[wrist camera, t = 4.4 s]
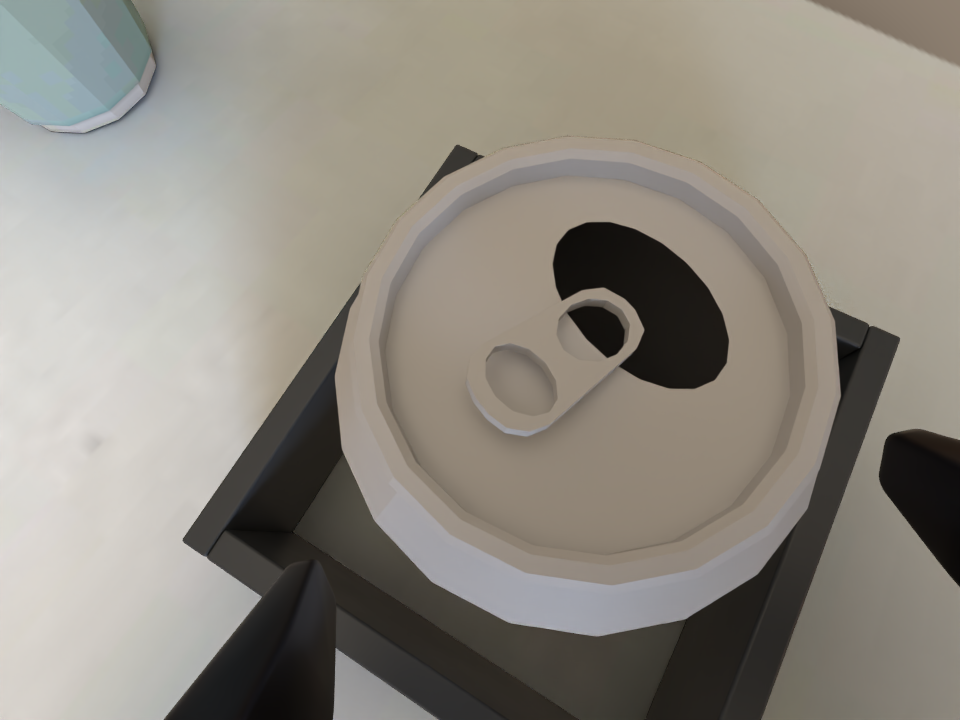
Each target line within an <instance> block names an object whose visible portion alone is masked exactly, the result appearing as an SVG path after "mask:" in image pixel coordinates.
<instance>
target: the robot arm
mask: <svg viewBox="0 0 960 720" xmlns="http://www.w3.org/2000/svg"><path fill="white" fill-rule="evenodd" d="M879 480H880V483H881V486H882V488H883V490H884V491H885V493H886V494H887V496H888V497H889V498H890V499H891V501H892V502H893V503H894V505H895V506H896V507H897V508H898V510H899V511H900V512H901V514H902V515H903V516H904V518H905V519H906V520H907V521H908V523H909V524H910V525H911V527H912V528H913V529H914V530H915V532H916V533H917V534H918V536H919V537H920V538H921V540H922V541H923V542H924V543H925V545H926V546H927V547H928V549H929V550H930V551H931V553H932V554H933V555H934V556H935V558H936V559H937V560H938V562H939V563H940V564H941V565H942V567H943V568H944V569H945V570H946V571H947V573H948V574H949V575H950V576H951V578H952V579H953V580H954V581H955V582H956V583H957V584H958V585H959V587H960V440H957V439H953V438H950V437H946V436H943V435H939V434H936V433H933V432H929V431H926V430H922V429H910V430H906V431H901V432H897V433H893V434H891V435H889V436H888V437H887V439H886V441H885V445H884V450H883V455H882V461H881V466H880V471H879ZM335 647H336V600H335V596H334V593H333V590H332V588H331V586H330V584H329V581H328V579H327V577H326V574H325V572H324V570H323V568H322V565H321V563H320V562H319V561H318V560H317V559H308V560H303V561H298V562H294V563H291V564H290V565H289V566H287V567H286V569H285V570H284V571H283V572H282V574H281V575H280V576H279V577H278V578H277V580H276V581H275V582H274V583H273V585H272V586H271V587H270V588H269V590H268V591H267V592H266V593H265V595H264V596H263V597H262V598H261V600H260V601H259V602H258V603H257V605H256V606H255V607H254V608H253V609H252V611H251V612H250V613H249V614H248V616H247V617H246V618H245V619H244V621H243V622H242V623H241V624H240V626H239V627H238V628H237V629H236V631H235V632H234V633H233V634H232V635H231V637H230V638H229V639H228V640H227V642H226V643H225V644H224V645H223V647H222V648H221V649H220V650H219V652H218V653H217V654H216V655H215V657H214V658H213V659H212V660H211V662H210V663H209V664H208V665H207V666H206V668H205V669H204V670H203V671H202V673H201V674H200V675H199V676H198V678H197V679H196V680H195V681H194V683H193V684H192V685H191V686H190V688H189V689H188V690H187V691H186V692H185V694H184V695H183V696H182V697H181V699H180V700H179V701H178V702H177V704H176V705H175V706H174V707H173V709H172V710H171V711H170V712H169V714H168V715H167V716H166V717H165V718H164V720H333V712H334V687H335Z"/></svg>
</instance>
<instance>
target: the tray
mask: <svg viewBox="0 0 960 720" xmlns="http://www.w3.org/2000/svg"><path fill="white" fill-rule="evenodd" d="M483 157H484V156H482V155H478V154H477V153H476V152H473V151H471V150H469V149H467V148H464V147H462V146H460V145H456V146H455V147H454V149H453V150H452V152H451V153H450V155H449V156H448V158H447V159H446V160H445V162H444V163H443V165H442V166H441V168H440V169H439V171H438V172H437V173H436V175H435V176H434V178H433V179H432V181H431V182H430V183H429V185H428V186H427V188H426V189H425V191H424V192H423V194H422V195H421V196H420V198H421V197H422V196H423V195H424V194H425V193H427V192H428V191H429V190H430V189H431V188H432V187H433V186H434V185H435V184H437V183H438V182H439V181H440V180H441V179H442V178H443V177H444V176H446V175H448V174H451V173H453V172H455V171H457V170H459V169H461V168H463V167H465V166H467V165H469V164H471V163H473V162H475V161H477V160H479V159H481V158H483ZM420 198H419V199H420ZM419 199H418V200H419ZM360 285H361V283H360V284H359V286H358V287H357V289H356V290H355V292H354V293H353V294H352V296H351V297H350V299H349V300H348V302H347V303H346V305H345V306H344V307H343V309H342V310H341V312H340V313H339V315H338V316H337V318H336V319H335V320H334V322H333V323H332V325H331V326H330V328H329V329H328V330H327V332H326V333H325V335H324V336H323V338H322V339H321V341H320V342H319V343H318V345H317V346H316V348H315V349H314V351H313V352H312V354H311V355H310V356H309V358H308V359H307V361H306V362H305V364H304V365H303V367H302V368H301V369H300V371H299V372H298V374H297V375H296V377H295V378H294V379H293V381H292V382H291V384H290V385H289V387H288V388H287V390H286V391H285V392H284V394H283V395H282V397H281V398H280V400H279V401H278V403H277V404H276V405H275V407H274V408H273V410H272V411H271V413H270V414H269V416H268V417H267V418H266V420H265V421H264V423H263V424H262V426H261V427H260V428H259V430H258V431H257V433H256V434H255V436H254V437H253V439H252V440H251V441H250V443H249V444H248V446H247V447H246V449H245V450H244V452H243V453H242V454H241V456H240V457H239V459H238V460H237V462H236V463H235V465H234V466H233V467H232V469H231V470H230V472H229V473H228V475H227V476H226V477H225V479H224V480H223V482H222V483H221V485H220V486H219V488H218V489H217V490H216V492H215V493H214V495H213V496H212V498H211V499H210V501H209V502H208V503H207V505H206V506H205V508H204V509H203V511H202V512H201V514H200V515H199V516H198V518H197V519H196V521H195V522H194V524H193V525H192V526H191V528H190V529H189V531H188V532H187V534H186V535H185V537H184V538H183V542H184V543H185V544H187V545H188V546H190V547H191V548H193V549H194V550H195V551H197V552H198V553H200V554H201V555H203V556H206V557H207V558H208V559H209V560H210V561H211V562H213V563H214V564H216V565H217V566H219V567H220V568H221V569H223V570H224V571H226V572H227V573H229V574H230V575H232V576H233V577H234V578H236V579H237V580H239V581H240V582H242V583H243V584H244V585H246V586H247V587H249V588H250V589H252V590H253V591H255V592H256V593H257V594H259V595H260V596H262V597H263V596H264V595H265V593H266V592H267V591H268V590H269V588H270V587H271V586H272V585H273V583H274V582H275V581H276V580H277V578H278V577H279V576H280V575H281V574H282V572H283V571H284V570H285V569H286V567H287V566H289V565H290V564H291V563H294V562H298V561H303V560H308V559H317V560H318V561H319V562H320V563H321V565H322V568H323V570H324V572H325V574H326V577H327V579H328V581H329V584H330V586H331V588H332V590H333V593H334V596H335V600H336V647H335V648H337V649H338V650H339V651H341V652H342V653H344V654H345V655H347V656H348V657H350V658H351V659H352V660H354V661H355V662H357V663H358V664H360V665H361V666H362V667H364V668H365V669H367V670H368V671H370V672H371V673H373V674H374V675H375V676H377V677H378V678H380V679H381V680H383V681H384V682H386V683H387V684H388V685H390V686H391V687H393V688H394V689H396V690H397V691H398V692H400V693H401V694H403V695H404V696H406V697H407V698H409V699H410V700H411V701H413V702H414V703H416V704H417V705H419V706H420V707H422V708H423V709H424V710H426V711H427V712H429V713H430V714H432V715H433V716H434V717H436V718H437V719H439V720H579V719H577V718H576V717H574V716H573V715H571V714H570V713H568V712H567V711H565V710H564V709H562V708H560V707H559V706H557V705H556V704H554V703H553V702H551V701H550V700H548V699H547V698H545V697H544V696H542V695H541V694H539V693H538V692H536V691H534V690H533V689H531V688H530V687H528V686H527V685H525V684H524V683H522V682H521V681H519V680H518V679H516V678H515V677H513V676H512V675H510V674H508V673H507V672H505V671H504V670H502V669H501V668H499V667H498V666H496V665H495V664H493V663H492V662H490V661H489V660H487V659H486V658H484V657H482V656H481V655H479V654H478V653H476V652H475V651H473V650H472V649H470V648H469V647H467V646H466V645H464V644H463V643H461V642H460V641H458V640H456V639H455V638H453V637H452V636H450V635H449V634H447V633H446V632H444V631H443V630H441V629H440V628H438V627H437V626H435V625H434V624H432V623H431V622H429V621H427V620H426V619H424V618H423V617H421V616H420V615H418V614H417V613H415V612H414V611H412V610H411V609H409V608H408V607H406V606H405V605H403V604H401V603H400V602H398V601H397V600H395V599H394V598H392V597H391V596H389V595H388V594H386V593H385V592H383V591H382V590H380V589H379V588H377V587H375V586H374V585H372V584H371V583H369V582H368V581H366V580H365V579H363V578H362V577H360V576H359V575H357V574H356V573H354V572H353V571H351V570H349V569H348V568H346V567H345V566H343V565H342V564H340V563H339V562H337V561H336V560H334V559H333V558H331V557H330V556H328V555H327V554H325V553H323V552H322V551H320V550H319V549H317V548H316V547H314V546H313V545H311V544H310V543H308V542H307V541H305V540H304V539H302V538H301V537H299V536H297V535H296V534H294V533H292V531H293V530H294V528H295V527H296V525H297V524H298V522H299V521H300V519H301V517H302V516H303V514H304V513H305V511H306V510H307V508H308V506H309V505H310V503H311V502H312V500H313V499H314V497H315V496H316V494H317V492H318V491H319V489H320V488H321V486H322V485H323V483H324V481H325V480H326V478H327V477H328V475H329V474H330V472H331V471H332V469H333V467H334V466H335V464H336V463H337V461H338V460H339V458H340V456H341V455H342V453H343V451H342V445H341V435H340V425H339V415H338V405H337V395H336V385H335V373H336V368H337V364H338V359H339V355H340V351H341V346H342V342H343V337H344V333H345V329H346V324H347V320H348V315H349V311H350V308H351V306H352V304H353V303H354V301H355V299H356V297H357V296H358V294H359V290H360ZM828 307H829V306H828ZM829 309H830V311H831V313H832V316H833V318H834V320H835V327H836V340H837V353H838V366H839V378H840V391H841V397H840V401H839V404H838V407H837V411H836V414H835V418H834V421H833V425H832V428H831V432H830V435H829V439H828V442H827V446H826V449H825V453H824V456H823V459H822V463H821V466H820V470H819V471H818V474H817V477H816V481H815V484H814V488H813V491H812V495H811V498H810V502H809V505H808V509H807V510H806V511H805V513H804V514H803V515H802V517H801V518H800V519H799V521H798V522H797V523H796V524H795V526H794V527H793V528H792V530H791V531H790V532H789V534H788V535H787V536H786V538H785V539H784V540H783V542H782V543H781V544H780V546H779V547H778V548H777V550H776V551H775V552H774V554H773V555H772V556H771V557H770V559H769V560H768V561H767V563H766V564H765V565H764V567H763V568H762V569H761V571H760V572H759V573H758V575H756V576H754V577H753V578H751V579H749V580H748V581H746V582H745V583H743V584H741V585H740V586H738V587H736V588H735V589H733V590H732V591H730V592H728V593H727V594H725V595H724V596H722V597H720V598H719V599H717V600H715V601H714V602H712V603H711V604H709V605H707V606H706V607H704V608H702V609H701V610H699V611H698V612H696V613H694V614H693V615H691V616H689V617H688V619H687V621H686V624H685V626H684V629H683V631H682V633H681V636H680V638H679V640H678V643H677V645H676V648H675V650H674V652H673V655H672V657H671V660H670V662H669V664H668V667H667V669H666V671H665V674H664V676H663V679H662V681H661V683H660V686H659V688H658V690H657V693H656V695H655V698H654V700H653V702H652V705H651V707H650V710H649V712H648V714H647V717H646V719H645V720H761V718H762V716H763V713H764V710H765V707H766V705H767V702H768V699H769V697H770V694H771V691H772V688H773V686H774V683H775V680H776V677H777V675H778V672H779V669H780V666H781V664H782V661H783V658H784V656H785V653H786V650H787V647H788V645H789V642H790V639H791V636H792V634H793V631H794V628H795V626H796V623H797V620H798V617H799V615H800V612H801V609H802V606H803V604H804V601H805V598H806V595H807V593H808V590H809V587H810V585H811V582H812V579H813V576H814V574H815V571H816V568H817V565H818V563H819V560H820V557H821V554H822V552H823V549H824V546H825V544H826V541H827V538H828V535H829V533H830V530H831V527H832V524H833V522H834V519H835V516H836V514H837V511H838V508H839V505H840V503H841V500H842V497H843V494H844V492H845V489H846V486H847V483H848V481H849V478H850V475H851V473H852V470H853V467H854V464H855V462H856V459H857V456H858V453H859V451H860V448H861V445H862V442H863V440H864V437H865V434H866V432H867V429H868V426H869V423H870V421H871V418H872V415H873V412H874V410H875V407H876V404H877V401H878V399H879V396H880V393H881V391H882V388H883V385H884V382H885V380H886V377H887V374H888V371H889V369H890V366H891V363H892V361H893V358H894V355H895V352H896V350H897V347H898V344H899V341H900V338H899V337H897V336H895V335H893V334H891V333H888V332H886V331H884V330H881V329H879V328H877V327H874V326H870V327H869V324H868V323H865V322H863V321H861V320H859V319H856V318H854V317H852V316H849V315H847V314H845V313H843V312H840V311H838V310H836V309H833V308H831V307H829Z"/></svg>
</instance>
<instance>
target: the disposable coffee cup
mask: <svg viewBox="0 0 960 720" xmlns="http://www.w3.org/2000/svg"><path fill="white" fill-rule="evenodd" d="M155 68H156V63H155V60H154V57H153V53H152V49H151V46H150V42H149V39H148V35H147V32H146V28H145V25H144V22H143V21H142V19H141V17H140V15H139V13H138V12H137V10H136V8H135V6H134V5H133V3H132V1H131V0H0V104H1V105H2V106H4V107H5V108H7V109H8V110H10V111H11V112H13V113H15V114H16V115H18V116H19V117H21V118H22V119H24V120H26V121H27V122H29V123H30V124H35V125H42V126H43V127H45V128H46V129H48V130H50V131H55V132H75V133H85V132H88V131H90V130H93V129H96V128H98V127H101V126H103V125H106V124H108V123H111V122H114V121H116V120H119V119H120V118H121V117H122V116H123V115H124V114H125V113H126V112H127V111H129V110H130V109H131V108H132V107H133V106H134V105H135V104H136V103H137V102H138V101H139V100H140V99H141V98H142V97H143V96H145V95H146V92H147V89H148V87H149V84H150V81H151V79H152V76H153V73H154V71H155Z"/></svg>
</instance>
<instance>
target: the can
mask: <svg viewBox="0 0 960 720" xmlns="http://www.w3.org/2000/svg"><path fill="white" fill-rule="evenodd" d="M335 385H336V395H337V405H338V415H339V425H340V435H341V445H342V451H343V453H344V455H345V457H346V460H347V462H348V464H349V466H350V468H351V471H352V473H353V475H354V477H355V479H356V482H357V484H358V486H359V488H360V490H361V493H362V495H363V497H364V499H365V501H366V504H367V506H368V508H369V510H370V512H371V515H372V517H373V519H374V521H375V522H376V523H377V524H378V525H379V526H380V528H381V529H382V530H383V531H384V532H385V533H386V534H387V535H388V536H389V537H390V538H391V539H392V540H393V541H394V542H395V544H396V545H397V546H398V547H399V548H400V549H401V550H402V551H403V552H404V553H405V554H406V555H407V556H408V557H409V558H410V559H411V561H412V562H413V563H414V564H415V565H416V566H417V567H418V568H419V569H420V570H421V571H422V572H423V573H424V574H425V575H426V577H427V578H428V579H429V580H430V581H431V582H433V583H434V584H436V585H438V586H440V587H442V588H444V589H446V590H448V591H450V592H451V593H453V594H455V595H457V596H459V597H461V598H463V599H465V600H467V601H468V602H470V603H472V604H474V605H476V606H478V607H480V608H482V609H483V610H485V611H487V612H489V613H491V614H493V615H495V616H497V617H499V618H500V619H502V620H504V621H506V622H508V623H512V624H519V625H525V626H532V627H538V628H545V629H551V630H558V631H564V632H571V633H577V634H584V635H590V636H597V637H598V636H603V635H608V634H613V633H618V632H624V631H629V630H634V629H639V628H644V627H649V626H654V625H659V624H664V623H670V622H675V621H680V620H685V619H686V618H688V617H689V616H691V615H693V614H694V613H696V612H698V611H699V610H701V609H702V608H704V607H706V606H707V605H709V604H711V603H712V602H714V601H715V600H717V599H719V598H720V597H722V596H724V595H725V594H727V593H728V592H730V591H732V590H733V589H735V588H736V587H738V586H740V585H741V584H743V583H745V582H746V581H748V580H749V579H751V578H753V577H754V576H756V575H758V573H759V572H760V571H761V569H762V568H763V567H764V565H765V564H766V563H767V561H768V560H769V559H770V557H771V556H772V555H773V554H774V552H775V551H776V550H777V548H778V547H779V546H780V544H781V543H782V542H783V540H784V539H785V538H786V536H787V535H788V534H789V532H790V531H791V530H792V528H793V527H794V526H795V524H796V523H797V522H798V521H799V519H800V518H801V517H802V515H803V514H804V513H805V511H806V510H807V509H808V505H809V502H810V498H811V495H812V491H813V488H814V484H815V481H816V477H817V474H818V471H819V470H820V466H821V463H822V459H823V456H824V453H825V449H826V446H827V442H828V439H829V435H830V432H831V428H832V425H833V421H834V418H835V414H836V411H837V407H838V404H839V401H840V397H841V391H840V378H839V366H838V353H837V340H836V327H835V320H834V318H833V316H832V313H831V311H830V309H829V307H828V304H827V302H826V300H825V297H824V295H823V293H822V290H821V288H820V286H819V284H818V281H817V279H816V277H815V274H814V272H813V270H812V267H811V265H810V263H809V261H808V258H807V256H806V254H805V253H804V252H803V251H802V250H801V248H800V247H799V246H798V245H797V244H796V243H795V241H794V240H793V239H792V238H791V237H790V236H789V234H788V233H787V232H786V231H785V230H784V229H783V228H782V226H781V225H780V224H779V223H778V222H777V221H776V219H775V218H774V217H773V216H772V215H771V214H770V212H769V211H768V210H767V209H766V208H765V207H764V206H763V204H762V203H761V202H760V201H759V200H758V199H756V198H755V197H753V196H752V195H750V194H749V193H747V192H745V191H744V190H742V189H741V188H739V187H738V186H736V185H735V184H733V183H732V182H730V181H729V180H727V179H726V178H724V177H723V176H721V175H720V174H718V173H717V172H715V171H714V170H712V169H710V168H709V167H707V166H706V165H704V164H703V163H701V162H699V161H696V160H693V159H690V158H687V157H684V156H681V155H678V154H675V153H672V152H669V151H666V150H663V149H660V148H657V147H654V146H651V145H648V144H645V143H642V142H639V141H636V140H625V139H610V138H595V137H580V136H563V137H558V138H553V139H548V140H542V141H537V142H532V143H527V144H521V145H516V146H511V147H506V148H502V149H500V150H498V151H496V152H494V153H492V154H490V155H488V156H485V157H483V158H481V159H479V160H477V161H475V162H473V163H471V164H469V165H467V166H465V167H463V168H461V169H459V170H457V171H455V172H453V173H451V174H448V175H446V176H444V177H443V178H442V179H441V180H440V181H439V182H438V183H437V184H435V185H434V186H433V187H432V188H431V189H430V190H429V191H428V192H427V193H425V194H424V195H423V196H422V197H421V198H420V199H419V200H418V201H417V202H415V203H414V204H413V205H412V206H411V207H410V208H409V209H408V210H407V211H406V212H404V213H403V214H402V215H401V216H400V217H399V218H398V219H397V220H396V221H395V223H394V224H393V226H392V228H391V229H390V231H389V233H388V234H387V236H386V238H385V239H384V241H383V243H382V245H381V246H380V248H379V250H378V251H377V253H376V255H375V256H374V258H373V260H372V261H371V263H370V265H369V266H368V268H367V270H366V271H365V273H364V275H363V276H362V281H361V285H360V290H359V294H358V296H357V297H356V299H355V301H354V303H353V304H352V306H351V308H350V311H349V315H348V320H347V324H346V329H345V333H344V337H343V342H342V346H341V351H340V355H339V359H338V364H337V368H336V373H335Z"/></svg>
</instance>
